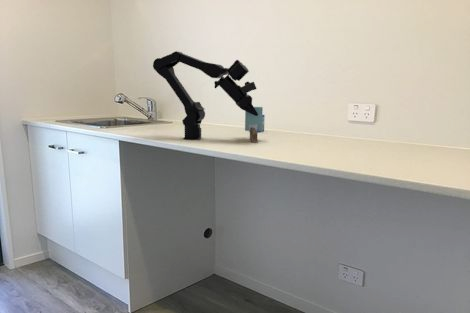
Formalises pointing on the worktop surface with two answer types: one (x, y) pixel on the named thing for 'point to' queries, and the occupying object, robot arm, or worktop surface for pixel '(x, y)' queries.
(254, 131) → the brown stepped bar
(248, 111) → the robot arm
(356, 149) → the worktop surface
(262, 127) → the medicine box
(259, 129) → the teal plate
